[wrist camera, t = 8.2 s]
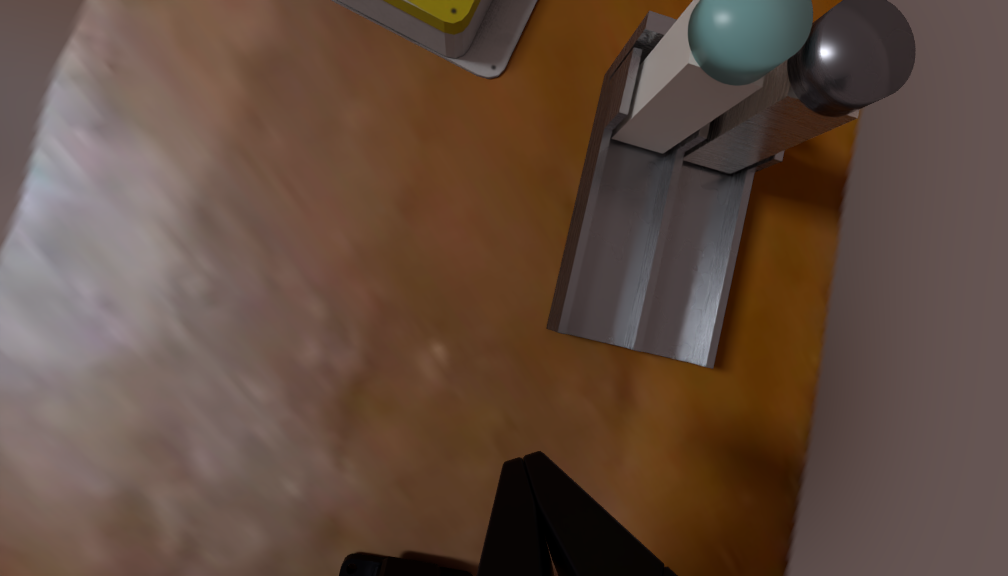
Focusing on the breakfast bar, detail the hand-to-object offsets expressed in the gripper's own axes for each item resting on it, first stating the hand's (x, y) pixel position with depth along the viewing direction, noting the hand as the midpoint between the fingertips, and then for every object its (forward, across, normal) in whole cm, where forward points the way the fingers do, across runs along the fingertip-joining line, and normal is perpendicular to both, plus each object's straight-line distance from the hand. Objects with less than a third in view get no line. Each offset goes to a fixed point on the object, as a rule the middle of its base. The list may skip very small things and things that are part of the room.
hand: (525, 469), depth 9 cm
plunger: (+15, +11, +3) cm, 19 cm away
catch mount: (+14, +10, -2) cm, 18 cm away
